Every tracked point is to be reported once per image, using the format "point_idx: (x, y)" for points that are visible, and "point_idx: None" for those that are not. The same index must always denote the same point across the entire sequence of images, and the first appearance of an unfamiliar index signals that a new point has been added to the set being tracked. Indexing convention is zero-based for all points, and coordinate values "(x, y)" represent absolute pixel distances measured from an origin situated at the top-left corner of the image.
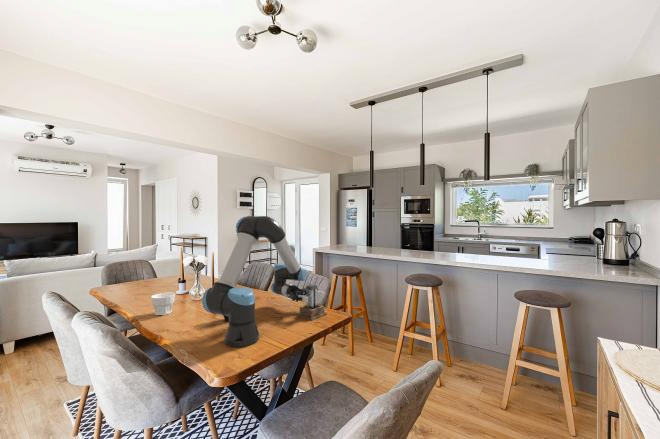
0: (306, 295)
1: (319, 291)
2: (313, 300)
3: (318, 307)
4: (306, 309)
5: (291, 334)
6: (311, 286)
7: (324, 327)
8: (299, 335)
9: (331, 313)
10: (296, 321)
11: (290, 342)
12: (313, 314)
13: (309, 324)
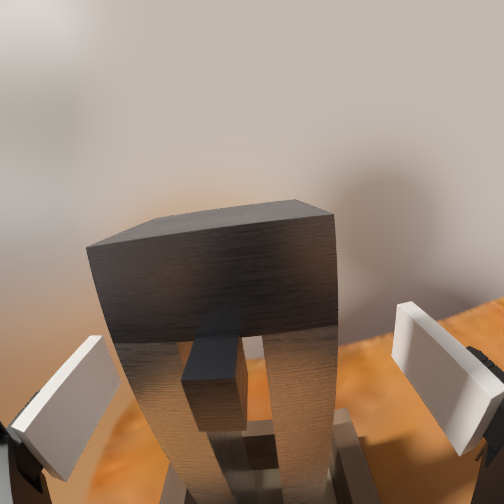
0: (331, 439)
1: (69, 377)
2: (236, 445)
3: (244, 431)
4: (366, 465)
5: (495, 345)
6: (284, 201)
7: (348, 351)
8: (468, 333)
9: (152, 444)
10: (454, 466)
11: (495, 310)
12: None
13: (397, 401)
